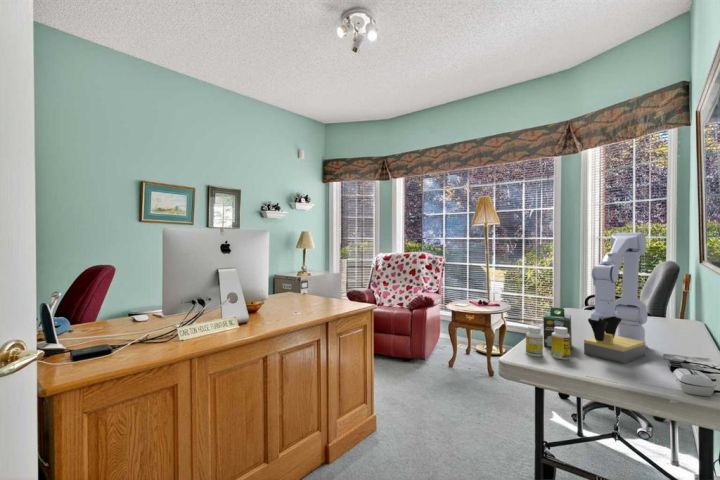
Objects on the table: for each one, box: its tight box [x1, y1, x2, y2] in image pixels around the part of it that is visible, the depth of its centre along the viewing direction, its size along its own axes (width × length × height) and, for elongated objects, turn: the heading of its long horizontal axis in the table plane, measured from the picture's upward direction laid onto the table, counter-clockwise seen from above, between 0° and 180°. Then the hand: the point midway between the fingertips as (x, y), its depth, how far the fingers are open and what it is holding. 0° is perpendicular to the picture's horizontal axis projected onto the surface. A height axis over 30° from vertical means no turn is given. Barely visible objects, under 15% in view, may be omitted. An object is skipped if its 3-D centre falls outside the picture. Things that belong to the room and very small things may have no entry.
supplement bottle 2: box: [551, 327, 571, 360], centre depth 119 cm, size 6×6×10 cm
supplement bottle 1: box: [525, 325, 544, 358], centre depth 122 cm, size 5×5×10 cm
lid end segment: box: [583, 333, 633, 352], centre depth 120 cm, size 7×12×4 cm, turn 31°
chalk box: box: [542, 306, 573, 351], centre depth 134 cm, size 9×9×15 cm
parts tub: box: [583, 335, 646, 365], centre depth 123 cm, size 17×12×5 cm
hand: (604, 339), depth 119 cm, fingers open, 7 cm apart
